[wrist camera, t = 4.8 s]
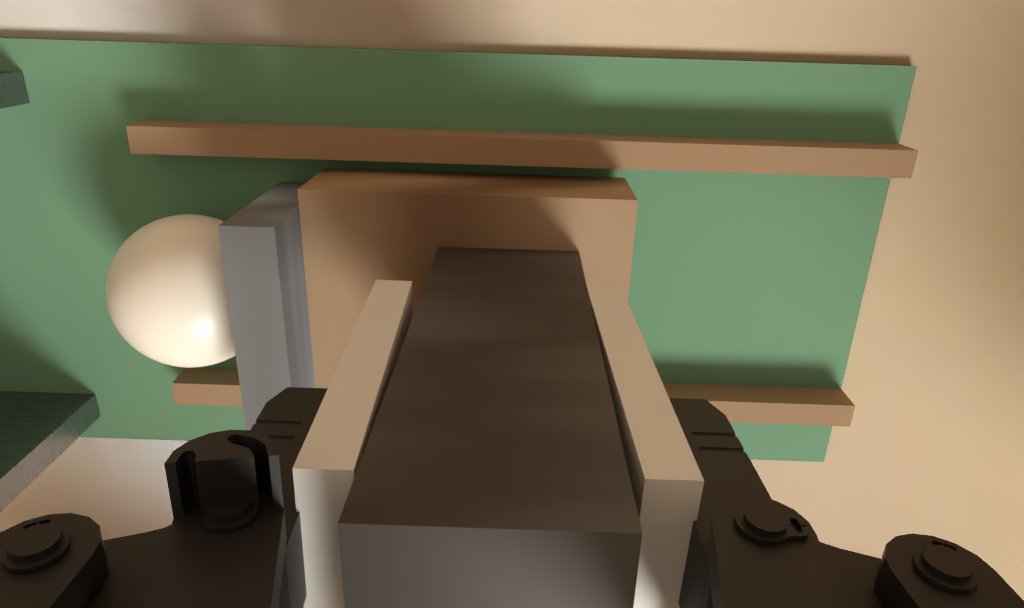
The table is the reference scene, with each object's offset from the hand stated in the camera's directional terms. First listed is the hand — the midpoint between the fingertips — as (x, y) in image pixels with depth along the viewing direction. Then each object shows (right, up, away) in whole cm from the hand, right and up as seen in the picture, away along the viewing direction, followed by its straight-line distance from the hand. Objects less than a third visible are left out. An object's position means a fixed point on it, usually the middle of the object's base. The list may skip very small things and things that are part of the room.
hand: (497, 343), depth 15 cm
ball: (-8, +1, +3) cm, 9 cm away
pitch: (-6, +2, +5) cm, 8 cm away
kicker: (-1, +2, +5) cm, 6 cm away
